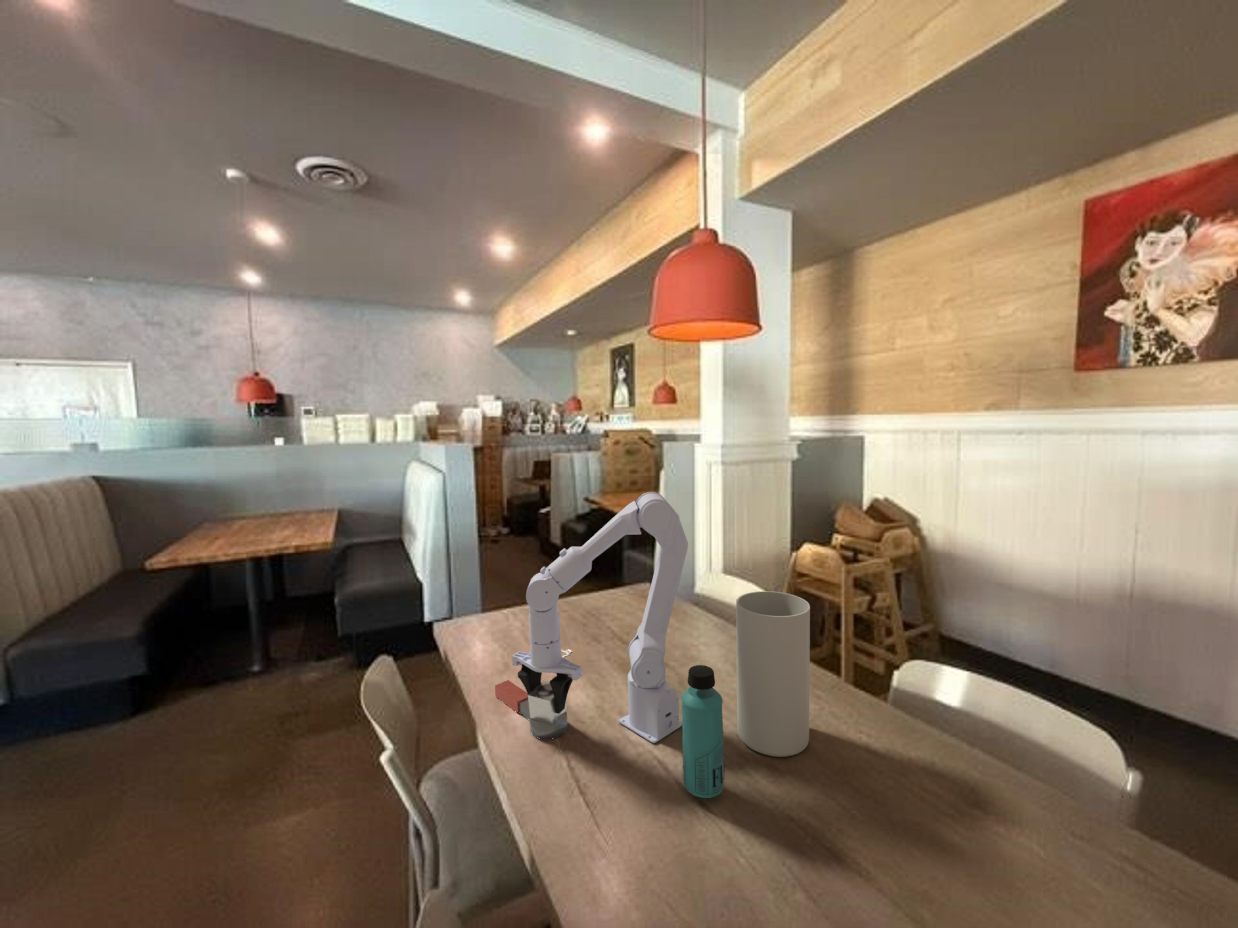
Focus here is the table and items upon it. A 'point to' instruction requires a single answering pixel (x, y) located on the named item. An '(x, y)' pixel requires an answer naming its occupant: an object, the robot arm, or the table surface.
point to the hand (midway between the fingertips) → (547, 707)
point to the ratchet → (521, 704)
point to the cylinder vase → (773, 672)
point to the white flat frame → (566, 652)
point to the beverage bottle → (702, 734)
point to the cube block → (543, 704)
